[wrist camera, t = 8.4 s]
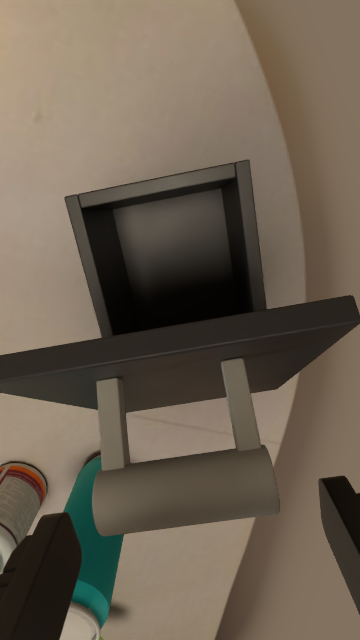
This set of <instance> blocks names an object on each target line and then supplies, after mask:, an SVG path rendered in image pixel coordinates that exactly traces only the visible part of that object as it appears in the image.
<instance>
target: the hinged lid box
mask: <svg viewBox="0 0 360 640" xmlns="http://www.w3.org/2000/svg"><path fill="white" fill-rule="evenodd" d="M65 202H66V206H67V209H68V213H69V217H70V220H71V224H72V228H73V232H74V235H75V239H76V243H77V246H78V250H79V254H80V258H81V261H82V265H83V269H84V273H85V276H86V280H87V284H88V287H89V291H90V295H91V299H92V302H93V306H94V310H95V313H96V317H97V321H98V325H99V328H100V332H101V336H102V338H104V337H110V336H116V335H122V334H127V333H133V332H139V331H145V330H151V329H157V328H162V327H168V326H174V325H180V324H186V323H191V322H197V321H203V320H209V319H215V318H221V317H226V316H232V315H238V314H244V313H250V312H255V311H261V310H267V309H266V300H265V292H264V283H263V274H262V266H261V257H260V248H259V239H258V231H257V222H256V213H255V205H254V196H253V187H252V179H251V170H250V161H249V160H243V161H239V162H235V163H229V164H224V165H219V166H214V167H209V168H204V169H199V170H194V171H189V172H184V173H179V174H175V175H170V176H165V177H160V178H155V179H150V180H145V181H140V182H135V183H130V184H125V185H120V186H115V187H110V188H105V189H100V190H95V191H90V192H86V193H81V194H78V195H77V194H76V195H71V196H66V197H65Z"/></svg>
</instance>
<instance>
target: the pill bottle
mask: <svg viewBox="0 0 360 640" xmlns="http://www.w3.org/2000/svg"><path fill="white" fill-rule="evenodd" d="M45 495H46V483H45V480H44V478H43V476H42V475H41V474H40V473H39V472H38V471H37V470H36V469H34V468H33V467H31V466H28V465H25V464H21V463H10V464H6V465H3V466H1V467H0V574H2V573H3V569H4V567H5V565H6V563H7V561H8V559H9V557H10V555H11V553H12V551H13V550H14V549H15V548H16V547H17V546H18V545H19V543H20V542H21V541H22V540H23V539H24V538H25V536H26V535H27V533H28V531H29V529H30V527H31V525H32V523H33V521H34V519H35V517H36V515H37V513H38V511H39V509H40V507H41V505H42V502H43V500H44V498H45Z"/></svg>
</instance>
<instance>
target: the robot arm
mask: <svg viewBox="0 0 360 640" xmlns="http://www.w3.org/2000/svg"><path fill="white" fill-rule="evenodd" d="M319 496H320V508H321V518H322V524H323V528H324V531H325V534H326V537H327V540H328V542H329V544H330V547H331V549H332V551H333V554H334V556H335V558H336V561H337V563H338V565H339V568H340V570H341V572H342V575H343V577H344V579H345V582H346V584H347V586H348V588H349V591H350V593H351V596H352V598H353V600H354V602H355V605H356V607H357V610H358V612H359V614H360V493H358V494H356V493H355V491H354V489H353V488H352V486H351V484H350V483H349V481H348V479H347V478H346V477H345V476H336V477H329V478H321V479H319ZM81 563H82V550H81V545H80V542H79V539H78V537H77V534H76V531H75V528H74V526H73V523H72V520H71V517H70V515H69V513H68V512H63V513H55V514H48V515H43V516H42V517H41V518H40V520H39V522H38V524H37V526H36V528H35V530H34V533H33V535H29V536H25V538H24V539H23V540H22V541H21V542H20V543H19V545H18V546H17V547H16V548H15V549H14V550H13V551H12V553H11V555H10V557H9V559H8V561H7V563H6V565H5V567H4V569H3V573H2V574H0V640H60V637H61V633H62V630H63V627H64V623H65V620H66V616H67V613H68V610H69V606H70V603H71V600H72V596H73V593H74V589H75V586H76V583H77V579H78V576H79V572H80V569H81Z"/></svg>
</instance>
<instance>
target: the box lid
mask: <svg viewBox="0 0 360 640" xmlns="http://www.w3.org/2000/svg"><path fill="white" fill-rule="evenodd" d="M359 324H360V315H359V312H358V308H357V305H356V302H355V299H354V297H353V296H351V295H349V296H343V297H337V298H331V299H325V300H320V301H314V302H308V303H302V304H296V305H290V306H285V307H279V308H273V309H267V310H261V311H255V312H250V313H244V314H238V315H232V316H226V317H221V318H215V319H209V320H203V321H197V322H191V323H186V324H180V325H174V326H168V327H162V328H157V329H151V330H145V331H139V332H133V333H127V334H122V335H116V336H110V337H104V338H98V339H93V340H87V341H81V342H75V343H69V344H63V345H58V346H52V347H46V348H40V349H34V350H28V351H23V352H17V353H11V354H5V355H0V393H5V394H10V395H16V396H22V397H28V398H33V399H39V400H45V401H50V402H56V403H62V404H68V405H73V406H79V407H85V408H90V409H96V410H98V415H99V431H100V447H101V464H102V469H100V470H99V471H98V473H97V475H96V477H95V481H94V486H93V495H92V508H93V517H94V522H95V526H96V529H97V531H98V533H99V534H100V535H102V536H112V535H120V534H127V533H135V532H143V531H150V530H158V529H166V528H173V527H181V526H189V525H196V524H204V523H211V522H219V521H227V520H234V519H242V518H250V517H257V516H264V515H272V514H278V513H279V512H280V500H279V494H278V488H277V483H276V478H275V473H274V469H273V466H272V462H271V458H270V455H269V452H268V450H267V448H266V447H265V445H261V443H260V438H259V433H258V428H257V423H256V418H255V413H254V408H253V403H252V399H251V394H250V393H256V392H262V391H268V390H275V389H278V388H279V387H280V386H282V385H283V384H284V383H285V382H287V381H288V380H289V379H290V378H292V377H293V376H294V375H295V374H297V373H298V372H299V371H300V370H302V369H303V368H304V367H305V366H307V365H308V364H309V363H311V362H312V361H313V360H314V359H316V358H317V357H318V356H319V355H321V354H322V353H323V352H324V351H326V350H327V349H328V348H329V347H331V346H332V345H333V344H334V343H336V342H337V341H338V340H339V339H341V338H342V337H343V336H344V335H346V334H347V333H348V332H350V331H351V330H352V329H353V328H355V327H356V326H357V325H359ZM224 397H227V401H228V406H229V412H230V417H231V423H232V428H233V434H234V439H235V445H236V449H229V450H222V451H215V452H208V453H201V454H195V455H188V456H181V457H174V458H167V459H160V460H153V461H146V462H139V463H133V464H130V457H129V446H128V434H127V423H126V413H127V412H134V411H140V410H146V409H153V408H159V407H166V406H172V405H179V404H185V403H191V402H198V401H204V400H211V399H217V398H224Z"/></svg>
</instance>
